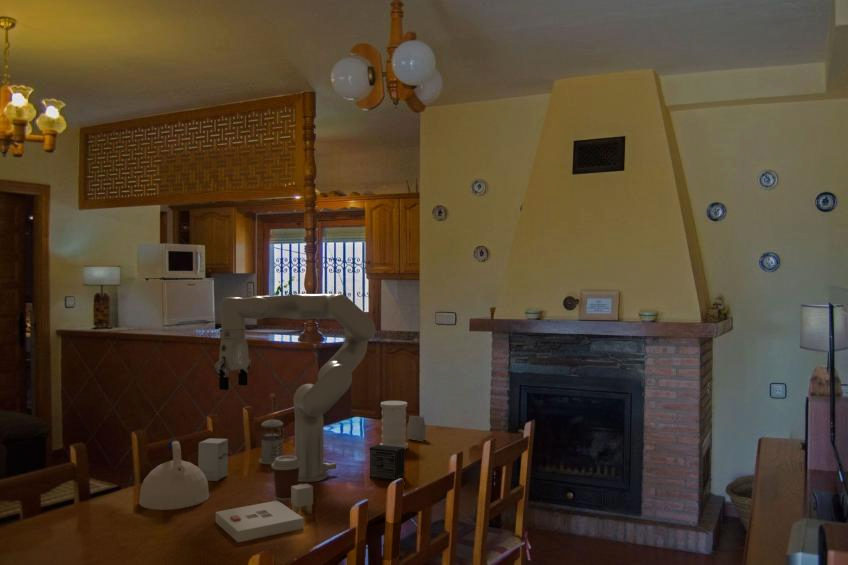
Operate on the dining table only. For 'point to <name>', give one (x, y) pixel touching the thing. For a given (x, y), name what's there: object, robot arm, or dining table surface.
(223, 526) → the socket
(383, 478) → the small box
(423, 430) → the grey tapered block
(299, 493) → the plug
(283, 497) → the coffee cup
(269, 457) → the french press
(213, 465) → the supplement box
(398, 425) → the decorative container
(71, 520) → the dining table surface
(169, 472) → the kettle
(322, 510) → the dining table surface
